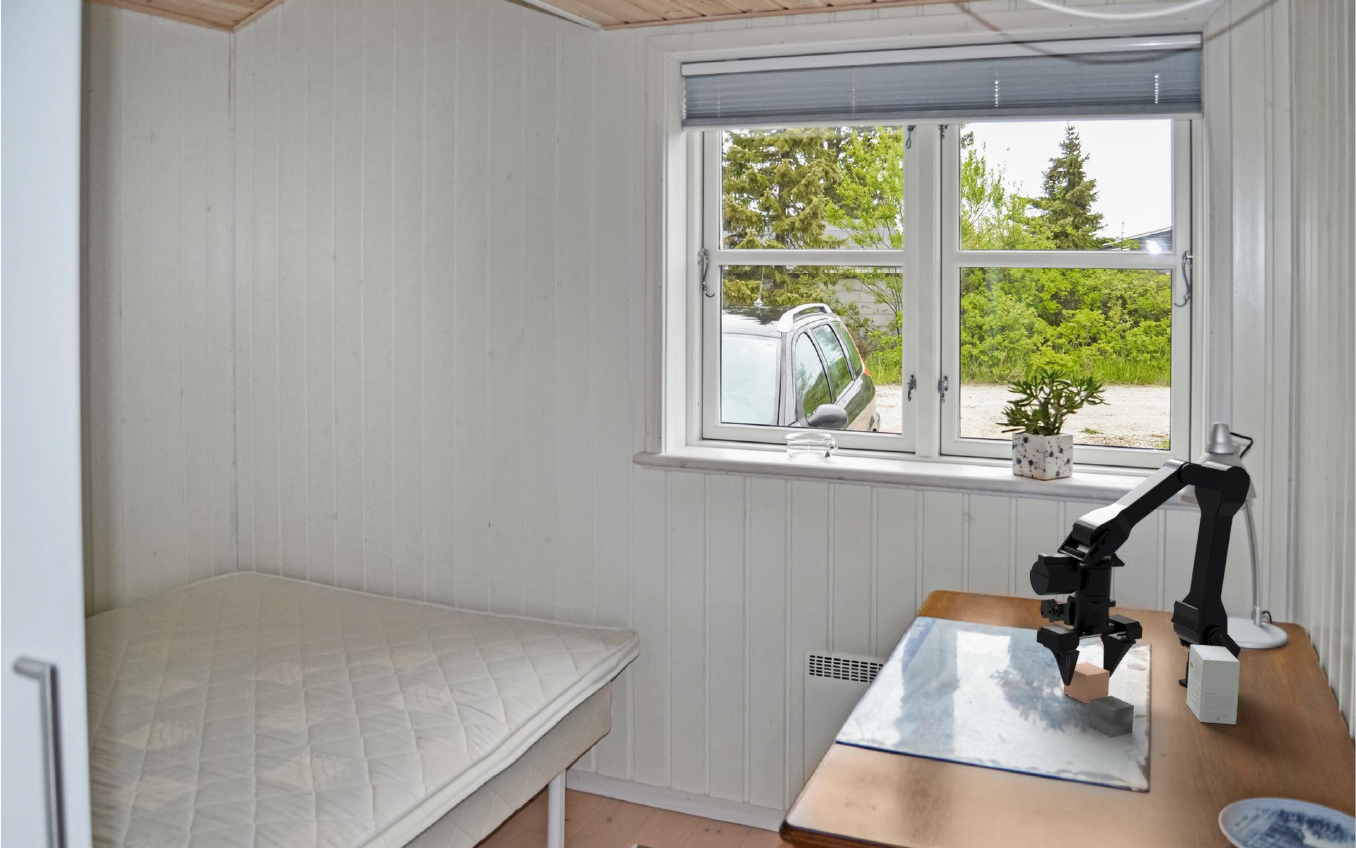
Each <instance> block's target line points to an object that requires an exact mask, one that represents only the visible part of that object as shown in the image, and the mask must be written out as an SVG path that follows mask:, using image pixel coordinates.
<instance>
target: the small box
mask: <svg viewBox="0 0 1356 848" xmlns="http://www.w3.org/2000/svg"><path fill="white" fill-rule="evenodd" d="M1189 652H1190V656H1189V672H1188V686H1187V691H1186V703H1185V704H1186V705H1187V707H1188V708H1189V709H1190V711H1191V712H1192V713H1193V715H1194V716H1195V717H1196V719H1197V720H1198V721H1199V722H1200V723H1209V724H1212V723H1213V724H1224V725H1237V715H1238V702H1239V688H1240V687H1239V686H1240V671H1241V661H1240V660H1239V659H1238V658H1237V659H1236V658H1235V657H1234V656H1233V655H1232V654H1231V652H1229V650H1228V649H1227V648H1226V647H1220V646H1205V645H1190V649H1189Z"/></svg>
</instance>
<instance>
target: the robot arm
mask: <svg viewBox="0 0 1356 848" xmlns="http://www.w3.org/2000/svg"><path fill="white" fill-rule="evenodd" d="M1187 486H1194V496H1195V498H1196V501H1197V504H1198V507H1199V510H1200V519H1199V524H1198V533H1197V539H1196V544H1195V554H1194V557H1193V558H1194V560H1193V566H1192V567H1193V568H1192V573H1191V580H1190V586H1189V592H1188V593H1187V595H1186V596H1185V597H1184V598H1183V599H1182V600H1178V599H1176V600H1175V601H1174V603H1173V614H1172V618H1171V619H1170V622H1171V623H1173V632H1174V633H1175V634H1176V636H1178V639H1179V644H1180V646H1182V647H1185V648H1187V649H1188V650H1190V645H1205V646H1220V647H1226V648H1227V649H1228V650H1229V652H1231V654H1232V655H1233V656H1234V657H1235V658H1236V659H1237V660H1238V658H1239V655H1240V653H1241V650H1242V649H1241V647H1240V646H1239V645H1238V643H1237V642H1235V640H1234V639H1233V638H1232V636H1230V634H1229V633H1228V632H1229V628H1228V626H1229V625H1228V624H1229V623H1228V621H1229V619H1228V618H1229V617H1228V614H1227V611H1226V608H1225V606H1224V602H1223V601H1222V593H1223V586H1224V581H1225V573H1226V567H1227V561H1228V560H1227V559H1228V553H1229V545H1230V541H1231V540H1230V539H1231V533H1232V527H1233V519H1234V516H1236V514H1237V512H1239V511H1240V509H1241V508H1242V507H1243V505H1245V503H1246V500H1247V496H1248V493H1249V490H1250V487H1251V476H1250V474H1248V472H1247V470H1245V468H1243V467H1242V466H1239V465H1234V464H1231V463H1225V462H1221V461H1216V460H1208V461H1205V462H1203V463H1202V464H1201V463H1200V464H1199V463H1195V462H1191V461H1186V460H1184V459H1183V460H1181V459H1178V458H1170V459H1168V460H1166V461H1165V462H1164V463H1163V464H1162V466H1161V467H1160V468H1159V469H1158V470H1156V471H1155V472H1153V473H1152V474H1151V475H1149V477H1147V478H1145V480H1143V481H1141V482H1140V483H1139V484H1138V485H1136V486H1135V487H1134V488H1133V489H1131V490H1130V491H1128V492H1127V493H1125V495H1123V496H1122V497H1120V498H1119V499H1118V500H1116V501H1115V502H1113V503H1112V504H1110V505H1108V506H1105V507H1101V508H1097V509H1094V510H1092V511H1090V512H1088V513H1086V514H1084V515H1082V516H1080V517H1079V518H1077V519H1076V521H1074V522H1073V524H1072V530H1071V531H1070V532H1069V534H1068V535H1067V536H1066V538H1065V540H1064V541H1063V542H1062V544H1061V545H1060V546H1059V548H1057V551H1056V552H1057V553H1055V554H1049V553H1039V554H1038V555H1037V561H1035V562H1034V563H1033V564H1032V566H1031V569H1030V570H1029V580H1030V581H1029V582H1030V585H1031V589H1032V590H1033V591H1034V593H1035V594H1036V595H1038V596H1054V595H1068V596H1067V599H1066V602H1058V601H1056V599H1055V598H1051V599H1042V600H1041V601H1040V607H1039V612H1040V616H1041V618H1042V619H1043V620H1045V619H1048V623H1049V624H1048V625H1042V626H1040V627H1039V628H1038V629H1036V643H1038V644H1041V645H1042V646H1043V648H1046V649H1048V650H1049V651H1050V653H1052V654H1053V657H1054V659H1055V661H1056V664H1057V668H1058V672H1059V673H1060V677H1061V680H1062V684H1063V686H1064V685H1066V686H1070V683H1071V681H1072V678H1073V675H1074V671H1075V667H1076V664H1078V659H1079V656H1080V653H1081V651H1080V650H1078V647H1079V646H1080V643H1081V642H1080V641H1081V640H1086V639H1092V638H1100V640H1101V643H1102V644H1103V653H1102V654H1103V656H1102V657H1103V659H1102V669H1105V670H1107V671H1110V673H1109V679H1110V678H1111V677H1112V676H1113V674H1114V673H1115V671H1116V669H1117V668H1118V666H1119V664H1121V662H1122V660H1123V659H1124V657H1125V656H1126V654H1127V653H1128V652H1129V651H1130V649H1131V648H1132V647H1133V646H1134V645H1136V644H1137V640H1140V639H1143V630H1144V629H1143V626H1142V624H1141V622H1140V621H1138V620H1136V619H1133V618H1131V617H1130V618H1129V617H1128V616H1124V615H1122V614H1118V613H1117V614H1111V615H1110V611H1111V608H1115V607H1117V606H1116V604H1117V600H1115V599H1113V598H1111V595H1112V593H1111V592H1112V582H1113V581H1112V578H1113V568H1123V567H1124V566H1125V565H1126V563H1125V562H1124V561H1123V560H1122V559H1120V557H1119V556H1118V555H1117V553H1116V552H1117V551H1119V549H1120V548H1121V547H1122V546H1123V545H1124V544H1125V543H1126V542H1127V541H1128V539H1129V537H1130V534H1131V533H1132V530H1133V528H1135V526H1136V525H1138V524H1139V523H1140V522H1141V521H1143V520H1144V519H1145V518H1146V517H1148V516H1149V515H1150V514H1152V513H1153V512H1154V511H1155V510H1157V509H1159V508H1160V507H1161V506H1162V505H1164V503H1166V502H1167V501H1169V500H1170V499H1171V498H1172V497H1174V496H1175V495H1176V494H1178V493H1179V492H1181V491H1182V490H1183V489H1185V487H1187ZM1079 548H1080V549H1083V550H1085V551H1087V552H1085V551H1082V550H1080V549H1079ZM1057 602H1058V603H1057ZM1054 622H1063V625H1065V626H1068V627H1065V626H1062V625H1060V624H1057V623H1055V624H1053V623H1054ZM1070 626H1071V627H1072V628H1069V627H1070ZM1189 656H1190V651H1188V652H1187V661H1186V663H1185V664H1186V665H1185V676H1184V677H1185V678H1181V679H1178V684H1180V685H1183V686H1185V687H1188V672H1189Z"/></svg>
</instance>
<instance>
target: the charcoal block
mask: <svg viewBox="0 0 1356 848" xmlns="http://www.w3.org/2000/svg"><path fill="white" fill-rule="evenodd" d="M1134 709H1135V705H1133V704H1131V703H1129V702H1126V701H1125V700H1122V699H1119V698H1118V697H1115V696H1114V695H1108V696H1107V697H1102V698H1097V699H1092V700H1090V703H1089V719H1088V727H1089V728H1091V729H1093V730H1094V731H1097V732H1099V733H1102V734H1103V735H1105V736H1108V737H1109V738H1114V737H1119V736H1120V737H1121V736H1124V735H1128V734H1132V733H1133V728H1134V727H1133V726H1134V712H1135V711H1134Z"/></svg>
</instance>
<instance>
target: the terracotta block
mask: <svg viewBox="0 0 1356 848" xmlns="http://www.w3.org/2000/svg"><path fill="white" fill-rule="evenodd" d="M1109 673H1110V671H1107V670H1105V669H1103V667H1100V666H1097V665H1095V664H1092V663H1091V662H1088V661H1087V662H1086V661H1085V662H1081V663H1077V664H1076V667H1075V671H1074V675H1073V678H1072V681H1071V683H1070V686H1066V685H1064V684H1063V694H1064V693H1066V694H1068V695H1071V696H1072V697H1073V698H1072V697H1071V698H1072V699H1074V698H1076V699H1078V700H1080V701H1082V702H1083V704H1085V703H1089V704H1090V700H1092V699H1097V698H1102V697H1107V696H1109V689H1110V687H1109V686H1110V678H1109ZM1076 699H1075V700H1076ZM1078 700H1077V701H1078ZM1080 701H1079V702H1080ZM1082 702H1081V703H1082Z"/></svg>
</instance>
